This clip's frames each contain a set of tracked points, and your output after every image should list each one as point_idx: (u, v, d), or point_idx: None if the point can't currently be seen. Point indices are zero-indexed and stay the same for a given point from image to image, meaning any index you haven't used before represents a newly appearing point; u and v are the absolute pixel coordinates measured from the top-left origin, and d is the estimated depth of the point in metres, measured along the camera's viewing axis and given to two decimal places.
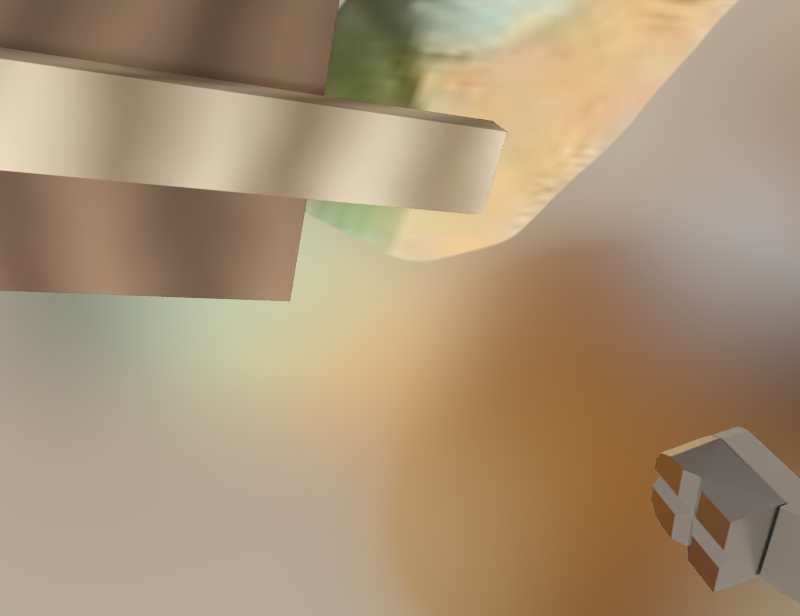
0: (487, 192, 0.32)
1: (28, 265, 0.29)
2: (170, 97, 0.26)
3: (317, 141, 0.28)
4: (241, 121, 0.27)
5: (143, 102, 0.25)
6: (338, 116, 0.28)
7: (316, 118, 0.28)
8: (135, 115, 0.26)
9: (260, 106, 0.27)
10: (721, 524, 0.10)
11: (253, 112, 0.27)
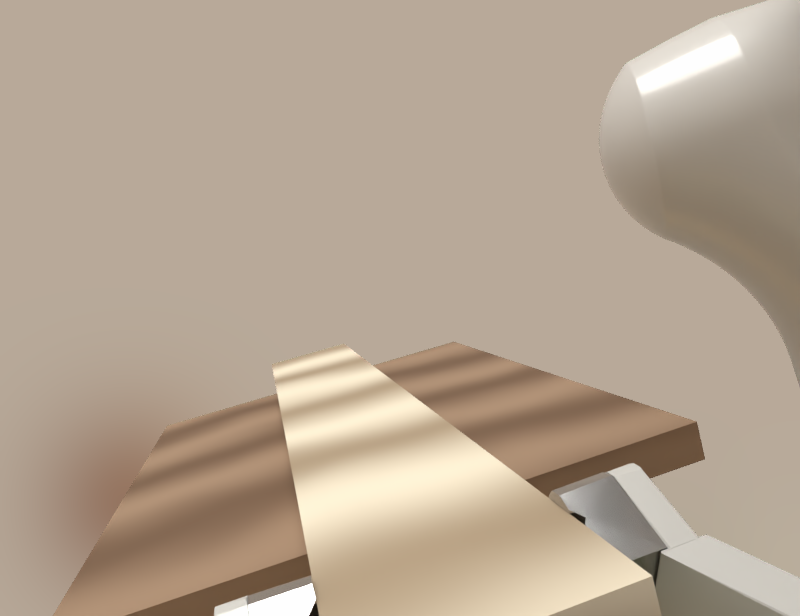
0: None
1: (165, 476, 0.26)
2: (390, 395, 0.22)
3: (398, 447, 0.16)
4: (389, 416, 0.19)
5: (375, 393, 0.23)
6: (450, 439, 0.16)
7: (432, 434, 0.17)
8: (359, 396, 0.23)
9: (417, 413, 0.19)
10: None
11: (406, 414, 0.19)
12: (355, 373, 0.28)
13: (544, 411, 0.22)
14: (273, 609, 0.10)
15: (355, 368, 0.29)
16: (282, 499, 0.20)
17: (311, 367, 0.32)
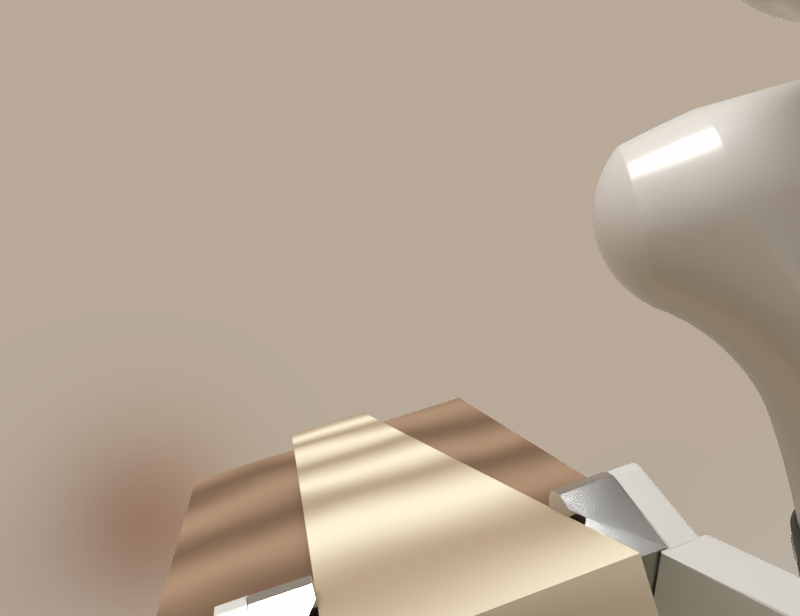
0: None
1: (204, 546, 0.29)
2: (403, 445, 0.22)
3: (407, 483, 0.17)
4: (401, 461, 0.20)
5: (390, 445, 0.23)
6: (458, 472, 0.16)
7: (441, 470, 0.17)
8: (374, 449, 0.23)
9: (428, 456, 0.19)
10: None
11: (417, 458, 0.19)
12: (371, 433, 0.28)
13: (542, 502, 0.25)
14: (273, 609, 0.10)
15: (372, 429, 0.29)
16: None
17: (329, 432, 0.32)
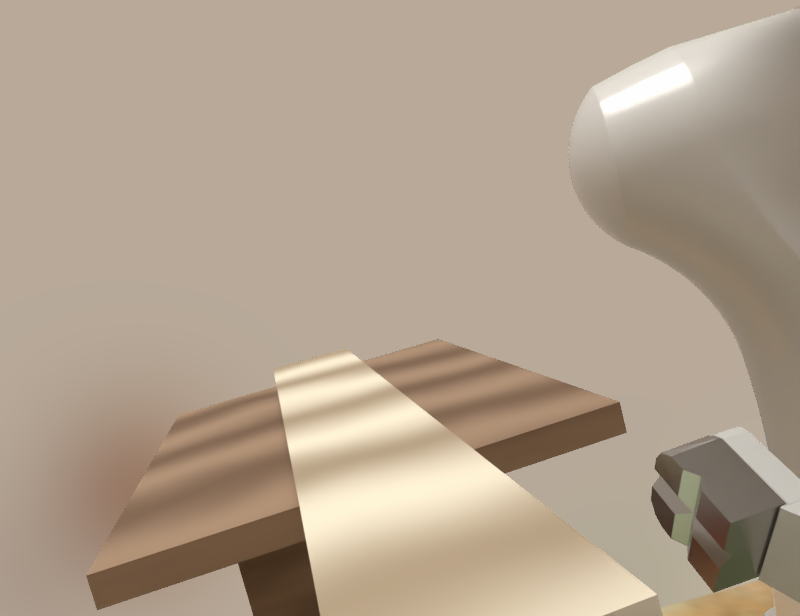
0: None
1: (180, 455, 0.30)
2: (392, 402, 0.22)
3: (401, 456, 0.16)
4: (391, 424, 0.19)
5: (377, 399, 0.23)
6: (453, 449, 0.16)
7: (434, 443, 0.17)
8: (361, 403, 0.23)
9: (420, 422, 0.19)
10: (721, 524, 0.10)
11: (409, 423, 0.19)
12: (357, 379, 0.28)
13: (503, 396, 0.26)
14: None
15: (357, 374, 0.29)
16: (281, 468, 0.24)
17: (313, 372, 0.32)
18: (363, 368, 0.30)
